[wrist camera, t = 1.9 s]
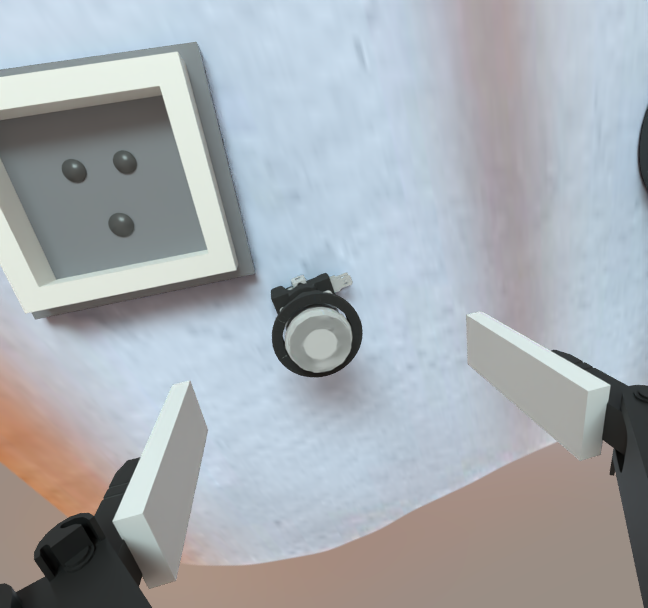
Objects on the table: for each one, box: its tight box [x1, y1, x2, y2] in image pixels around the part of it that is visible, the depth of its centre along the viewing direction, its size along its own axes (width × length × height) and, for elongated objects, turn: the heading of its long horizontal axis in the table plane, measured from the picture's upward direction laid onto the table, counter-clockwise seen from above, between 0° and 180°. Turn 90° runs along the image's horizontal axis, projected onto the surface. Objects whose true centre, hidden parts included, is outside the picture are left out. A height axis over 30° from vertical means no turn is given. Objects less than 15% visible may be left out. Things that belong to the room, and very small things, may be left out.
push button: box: [271, 273, 362, 377], centre depth 24 cm, size 7×5×10 cm
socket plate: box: [0, 42, 255, 319], centre depth 23 cm, size 16×15×3 cm
